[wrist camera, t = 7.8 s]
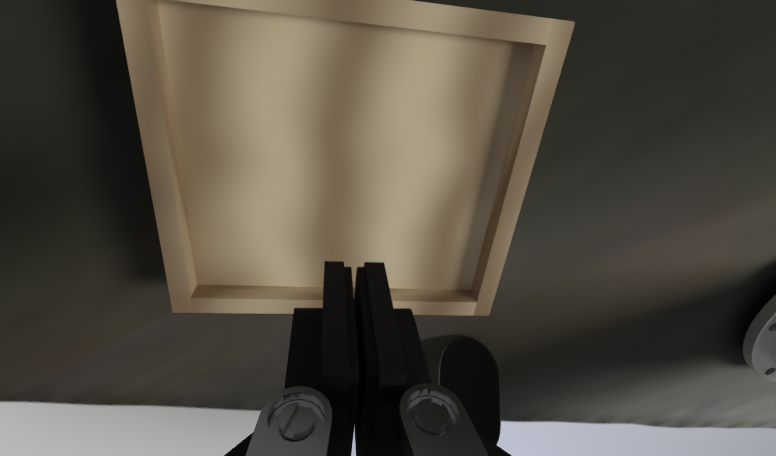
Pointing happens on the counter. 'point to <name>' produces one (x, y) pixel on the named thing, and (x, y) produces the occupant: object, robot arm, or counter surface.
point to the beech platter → (337, 144)
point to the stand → (472, 383)
